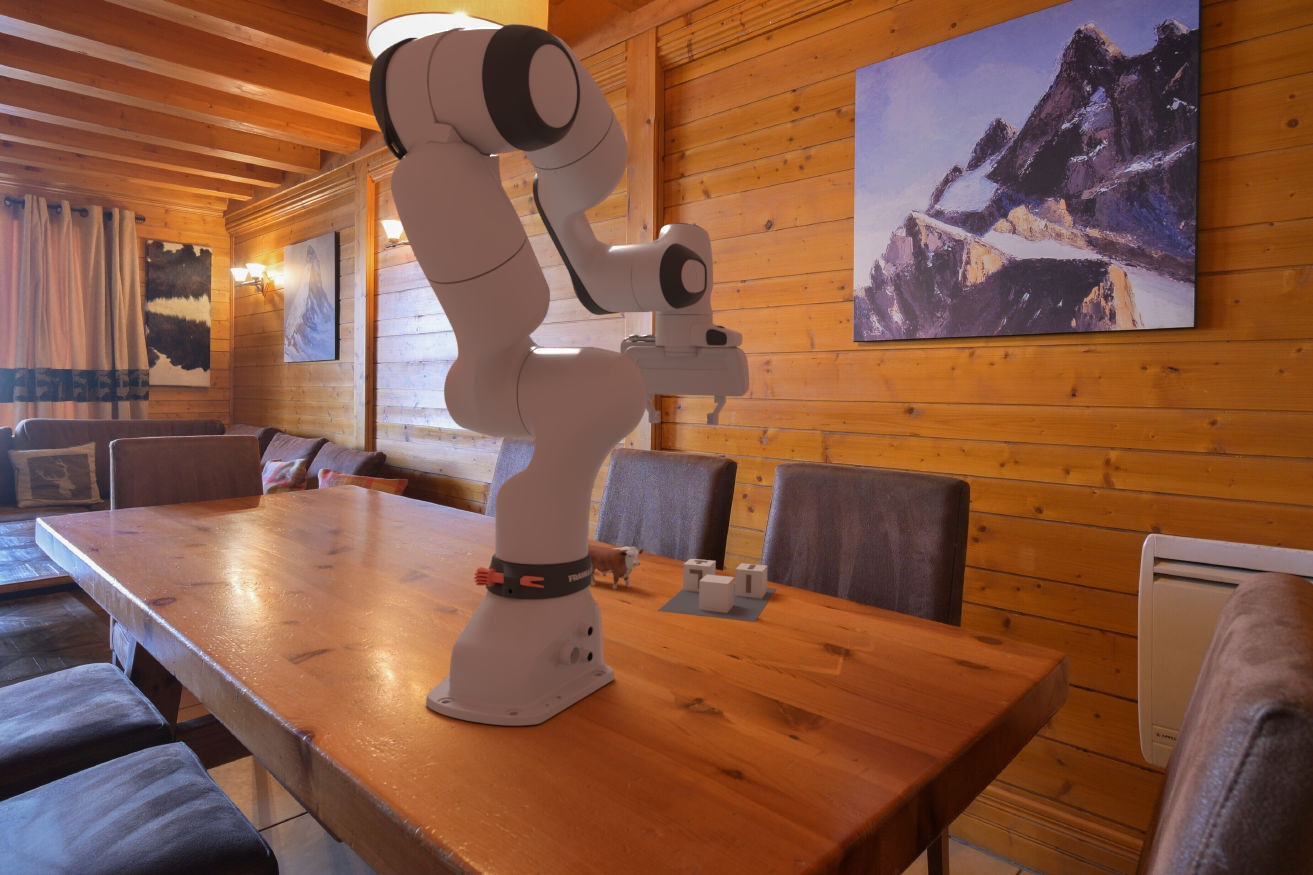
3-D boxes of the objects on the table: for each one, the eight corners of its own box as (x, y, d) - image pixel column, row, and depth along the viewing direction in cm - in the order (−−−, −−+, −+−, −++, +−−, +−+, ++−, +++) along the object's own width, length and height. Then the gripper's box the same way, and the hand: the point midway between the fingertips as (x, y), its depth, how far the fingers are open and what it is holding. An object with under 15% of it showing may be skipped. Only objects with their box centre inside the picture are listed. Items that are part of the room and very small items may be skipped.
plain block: (727, 612, 112) (727, 583, 112) (698, 609, 114) (699, 580, 114) (733, 605, 117) (734, 577, 116) (706, 602, 118) (706, 574, 118)
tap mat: (754, 625, 108) (754, 621, 108) (657, 614, 113) (657, 610, 113) (776, 591, 127) (776, 588, 127) (692, 583, 132) (692, 580, 132)
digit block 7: (708, 593, 124) (709, 565, 123) (682, 590, 125) (683, 563, 125) (715, 586, 128) (715, 560, 128) (690, 583, 129) (690, 557, 129)
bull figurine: (634, 598, 122) (635, 550, 121) (574, 585, 130) (575, 539, 129) (650, 593, 125) (651, 545, 125) (591, 580, 133) (592, 535, 133)
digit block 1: (761, 598, 121) (762, 570, 120) (734, 595, 122) (735, 568, 122) (766, 591, 125) (767, 564, 125) (740, 589, 127) (741, 562, 126)
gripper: (613, 334, 114) (613, 423, 116) (744, 335, 107) (742, 429, 109) (627, 334, 119) (627, 419, 121) (752, 334, 113) (750, 423, 115)
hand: (683, 423), depth 115 cm, fingers open, 8 cm apart
